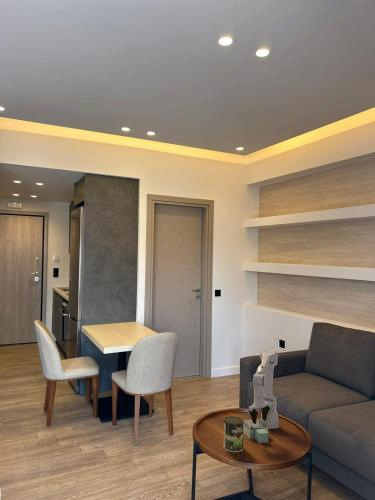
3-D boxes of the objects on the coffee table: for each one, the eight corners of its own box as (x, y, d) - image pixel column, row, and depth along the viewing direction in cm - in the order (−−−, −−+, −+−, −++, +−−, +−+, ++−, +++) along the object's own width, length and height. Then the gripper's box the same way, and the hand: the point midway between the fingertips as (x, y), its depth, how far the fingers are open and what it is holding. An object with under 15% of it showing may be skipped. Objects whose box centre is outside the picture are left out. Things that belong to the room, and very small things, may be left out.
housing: (259, 429, 214) (259, 418, 214) (267, 437, 204) (268, 425, 204) (242, 431, 211) (242, 420, 211) (249, 439, 201) (249, 427, 202)
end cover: (259, 433, 208) (259, 424, 208) (268, 442, 198) (268, 432, 198) (251, 434, 206) (251, 425, 207) (259, 443, 196) (259, 433, 196)
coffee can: (247, 450, 189) (247, 422, 189) (229, 454, 184) (230, 425, 185) (236, 441, 198) (237, 415, 199) (219, 445, 194) (220, 417, 195)
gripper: (263, 391, 209) (263, 416, 208) (244, 396, 200) (244, 422, 200) (272, 395, 203) (272, 420, 202) (254, 400, 195) (253, 426, 194)
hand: (259, 421), depth 201 cm, fingers open, 7 cm apart
